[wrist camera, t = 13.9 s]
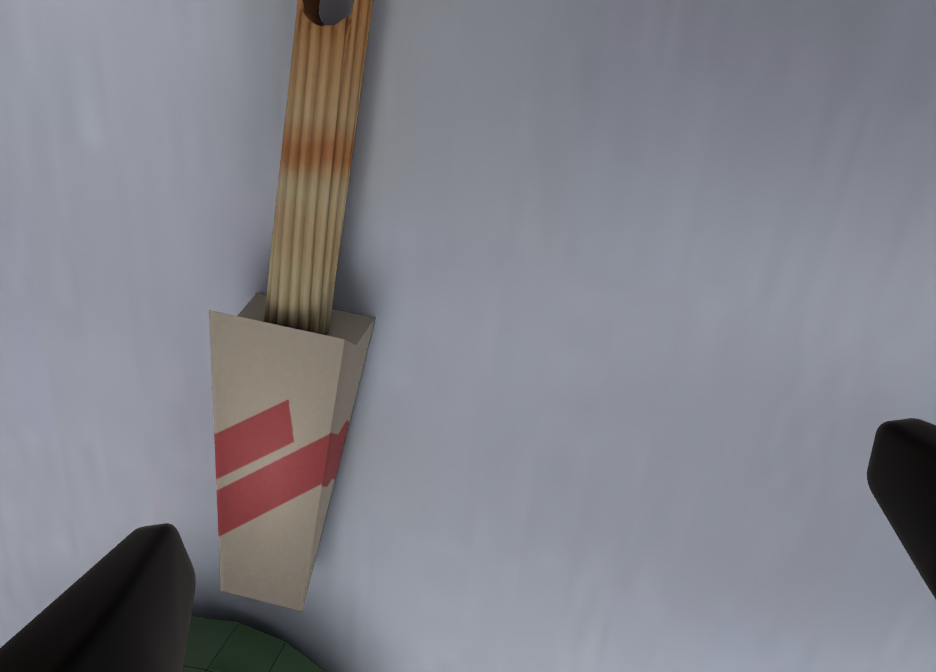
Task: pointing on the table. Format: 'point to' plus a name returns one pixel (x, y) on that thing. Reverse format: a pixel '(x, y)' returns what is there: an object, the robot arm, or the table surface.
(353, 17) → the paintbrush
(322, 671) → the bowl
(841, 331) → the table surface
